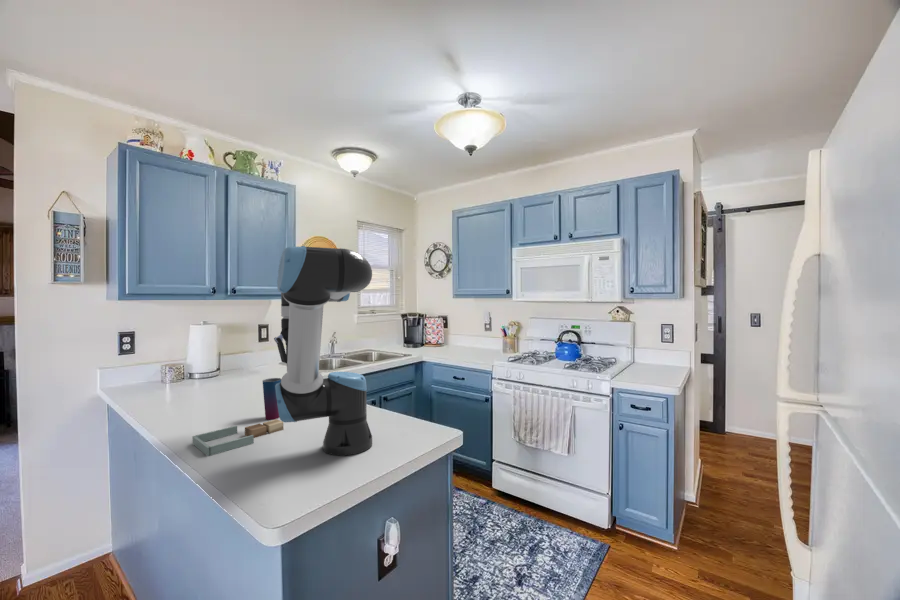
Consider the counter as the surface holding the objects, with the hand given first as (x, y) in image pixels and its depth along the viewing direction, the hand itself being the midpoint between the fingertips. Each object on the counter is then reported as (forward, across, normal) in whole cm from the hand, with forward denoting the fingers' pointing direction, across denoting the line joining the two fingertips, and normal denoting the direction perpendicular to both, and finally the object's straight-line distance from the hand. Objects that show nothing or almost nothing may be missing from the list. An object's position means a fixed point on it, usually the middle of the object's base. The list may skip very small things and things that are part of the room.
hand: (292, 380), depth 142 cm
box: (+16, +24, 0) cm, 29 cm away
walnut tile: (+17, +14, 0) cm, 21 cm away
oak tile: (+17, +8, 0) cm, 18 cm away
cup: (+17, +2, -14) cm, 22 cm away
